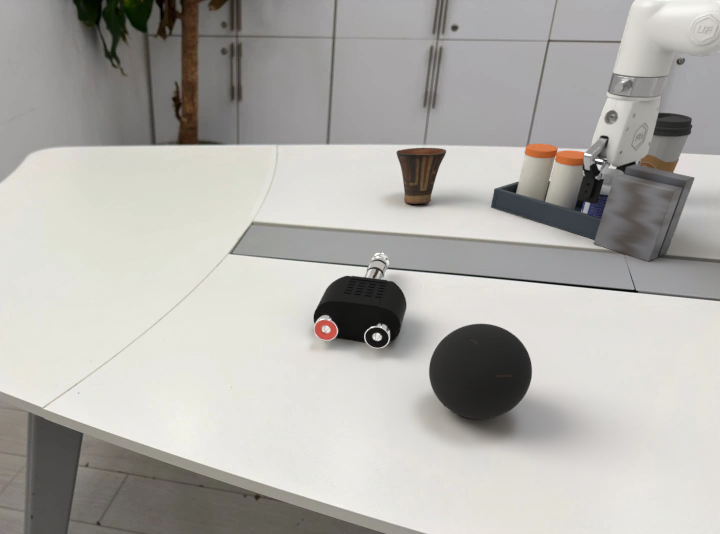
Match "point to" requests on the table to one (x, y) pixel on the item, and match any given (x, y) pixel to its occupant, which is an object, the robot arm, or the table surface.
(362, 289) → the audio adapter
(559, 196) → the white bottles
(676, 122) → the coffee cup
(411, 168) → the cup
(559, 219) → the tray
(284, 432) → the table surface
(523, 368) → the speaker
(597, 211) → the pill bottle
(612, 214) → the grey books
